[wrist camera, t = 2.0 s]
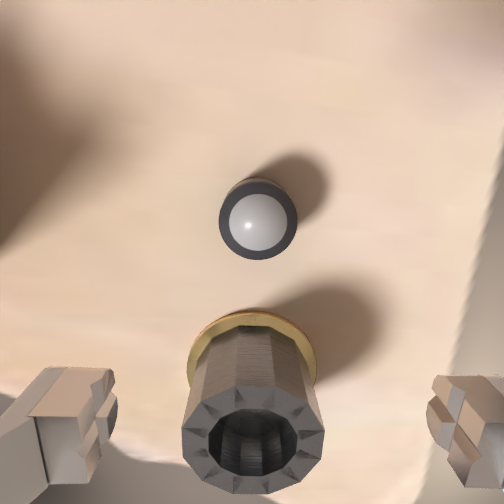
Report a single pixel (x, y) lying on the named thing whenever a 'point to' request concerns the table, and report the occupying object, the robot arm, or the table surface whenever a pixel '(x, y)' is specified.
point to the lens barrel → (252, 405)
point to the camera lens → (257, 219)
